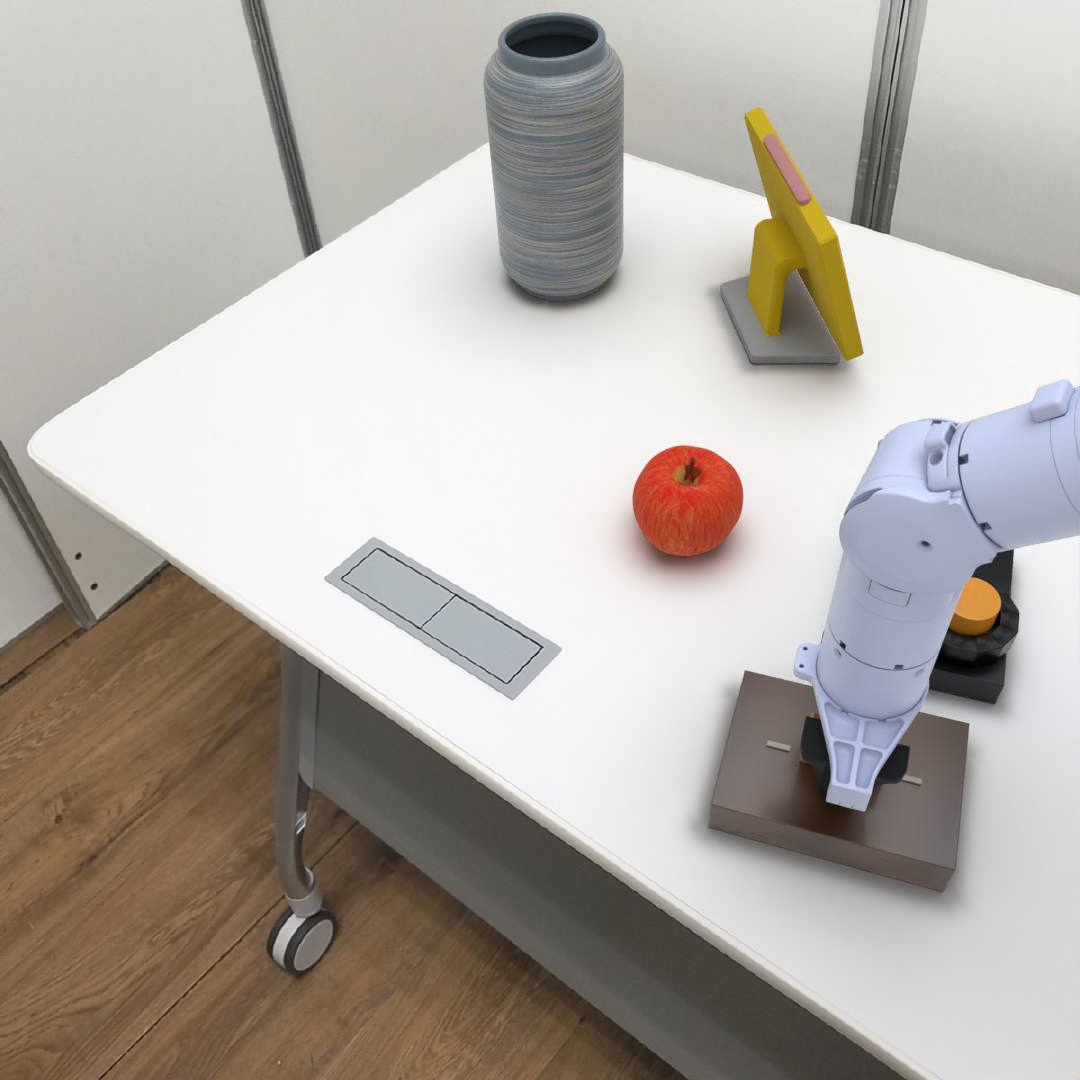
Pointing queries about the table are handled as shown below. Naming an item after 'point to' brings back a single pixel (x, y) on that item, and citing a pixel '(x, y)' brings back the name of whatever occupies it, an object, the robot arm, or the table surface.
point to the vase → (557, 153)
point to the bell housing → (980, 643)
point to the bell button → (976, 608)
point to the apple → (687, 500)
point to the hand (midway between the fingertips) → (844, 758)
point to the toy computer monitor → (791, 269)
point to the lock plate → (829, 829)
